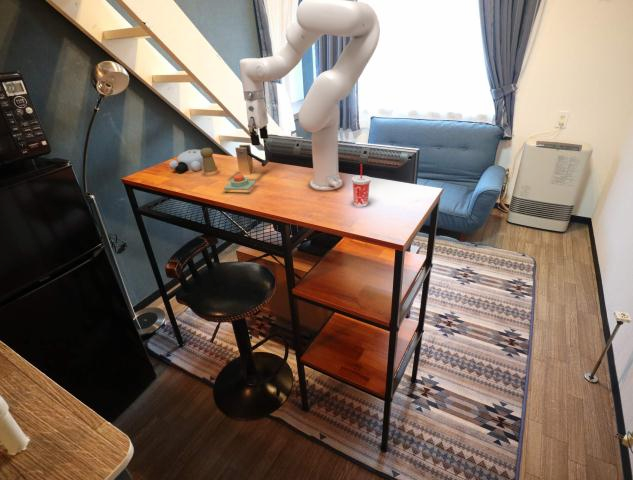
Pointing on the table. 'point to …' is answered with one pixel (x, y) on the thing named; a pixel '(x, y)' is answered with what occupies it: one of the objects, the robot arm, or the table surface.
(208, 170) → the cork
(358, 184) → the beverage cup
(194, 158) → the figurine
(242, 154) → the bracket
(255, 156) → the lever
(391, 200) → the table surface
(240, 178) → the button
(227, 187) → the button block
